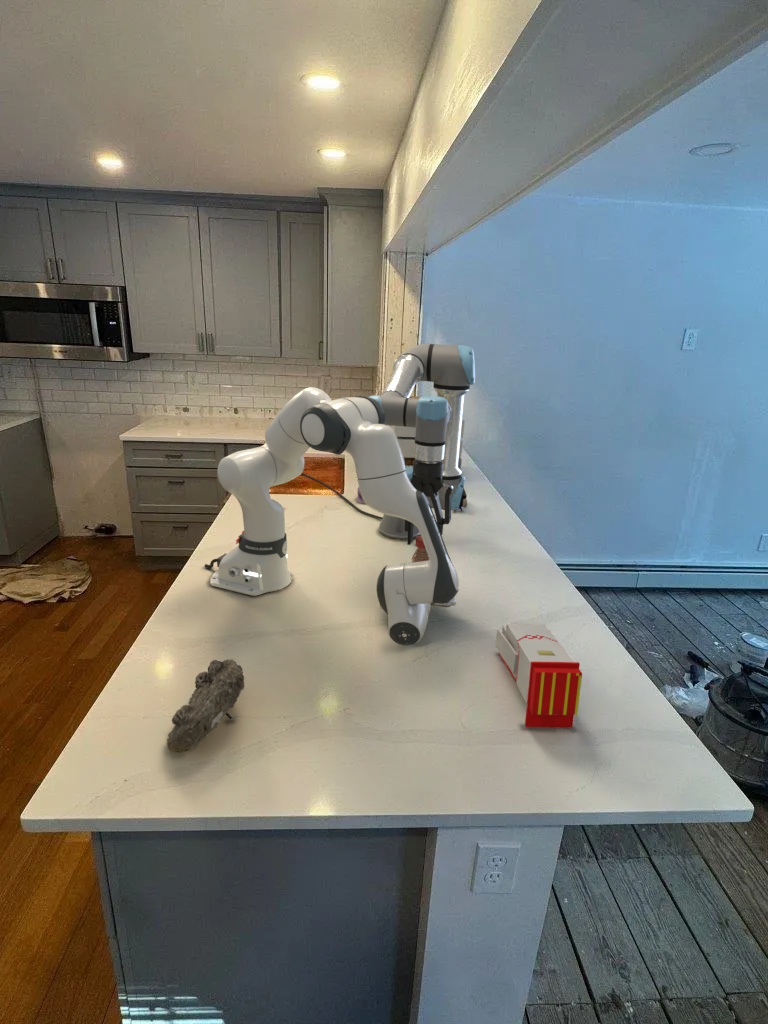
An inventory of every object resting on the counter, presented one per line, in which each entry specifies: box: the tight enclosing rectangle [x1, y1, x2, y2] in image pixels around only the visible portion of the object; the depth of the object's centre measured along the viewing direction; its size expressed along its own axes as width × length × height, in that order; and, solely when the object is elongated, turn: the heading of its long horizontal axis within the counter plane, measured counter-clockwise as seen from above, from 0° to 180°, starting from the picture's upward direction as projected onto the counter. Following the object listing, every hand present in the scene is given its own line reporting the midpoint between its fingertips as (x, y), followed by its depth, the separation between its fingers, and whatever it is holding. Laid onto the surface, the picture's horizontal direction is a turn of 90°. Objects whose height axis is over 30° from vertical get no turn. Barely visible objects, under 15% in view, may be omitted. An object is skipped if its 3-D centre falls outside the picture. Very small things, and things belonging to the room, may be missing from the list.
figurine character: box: [453, 487, 468, 512], centre depth 228 cm, size 7×8×15 cm
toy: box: [494, 623, 583, 729], centre depth 120 cm, size 12×13×30 cm
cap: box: [414, 536, 425, 548], centre depth 149 cm, size 4×4×2 cm
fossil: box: [166, 658, 245, 754], centre depth 106 cm, size 22×10×15 cm
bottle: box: [411, 547, 429, 563], centre depth 152 cm, size 5×5×18 cm
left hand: (420, 577), depth 154 cm, fingers closed on bottle, 5 cm apart
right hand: (422, 544), depth 149 cm, fingers open, 6 cm apart
